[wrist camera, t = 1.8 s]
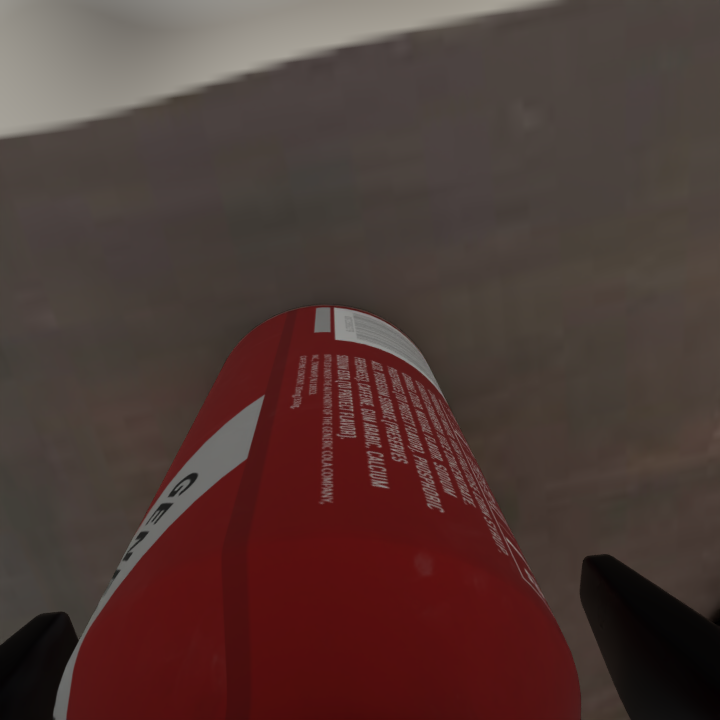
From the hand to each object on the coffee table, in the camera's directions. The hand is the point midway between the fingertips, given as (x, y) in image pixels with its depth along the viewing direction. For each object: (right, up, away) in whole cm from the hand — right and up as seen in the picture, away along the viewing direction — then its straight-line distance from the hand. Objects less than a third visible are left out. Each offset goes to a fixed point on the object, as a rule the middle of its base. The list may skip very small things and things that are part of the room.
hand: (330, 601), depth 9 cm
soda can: (-1, +3, +7) cm, 8 cm away
